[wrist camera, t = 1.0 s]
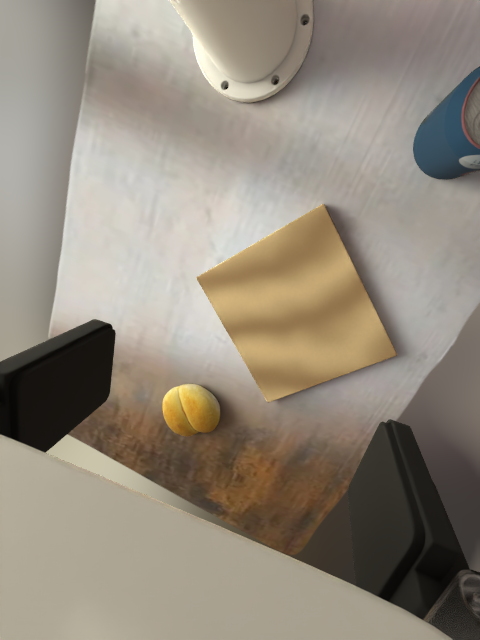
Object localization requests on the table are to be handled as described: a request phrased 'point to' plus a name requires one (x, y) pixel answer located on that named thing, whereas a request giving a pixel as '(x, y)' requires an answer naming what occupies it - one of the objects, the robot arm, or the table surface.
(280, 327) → the breadboard
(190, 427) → the bread roll
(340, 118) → the table surface
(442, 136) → the soda can
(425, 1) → the table surface
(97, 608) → the robot arm
